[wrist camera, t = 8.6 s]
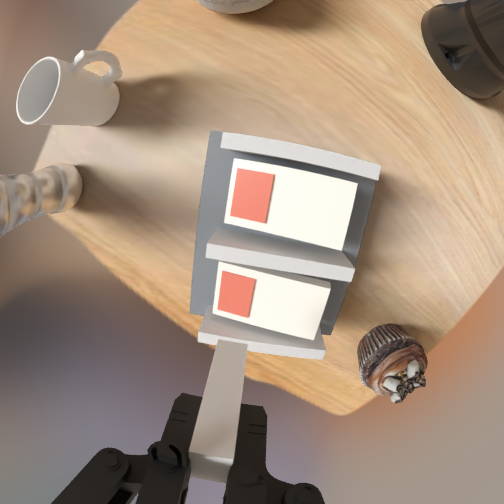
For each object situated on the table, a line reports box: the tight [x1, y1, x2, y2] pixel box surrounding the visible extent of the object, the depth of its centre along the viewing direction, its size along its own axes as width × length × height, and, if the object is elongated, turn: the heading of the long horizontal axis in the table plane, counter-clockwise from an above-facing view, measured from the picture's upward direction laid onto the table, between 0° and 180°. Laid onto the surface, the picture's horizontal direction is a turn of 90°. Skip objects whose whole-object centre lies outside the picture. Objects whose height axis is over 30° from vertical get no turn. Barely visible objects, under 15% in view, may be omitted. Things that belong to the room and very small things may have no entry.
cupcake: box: [357, 324, 427, 403], centre depth 31 cm, size 10×10×10 cm
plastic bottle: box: [0, 163, 83, 237], centre depth 20 cm, size 6×7×20 cm
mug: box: [16, 50, 122, 126], centre depth 20 cm, size 10×7×12 cm, turn 116°
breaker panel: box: [190, 131, 381, 360], centre depth 26 cm, size 16×19×10 cm
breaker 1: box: [224, 158, 358, 251], centre depth 22 cm, size 10×6×2 cm, turn 81°
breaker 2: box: [213, 260, 331, 340], centre depth 25 cm, size 10×6×2 cm, turn 81°
